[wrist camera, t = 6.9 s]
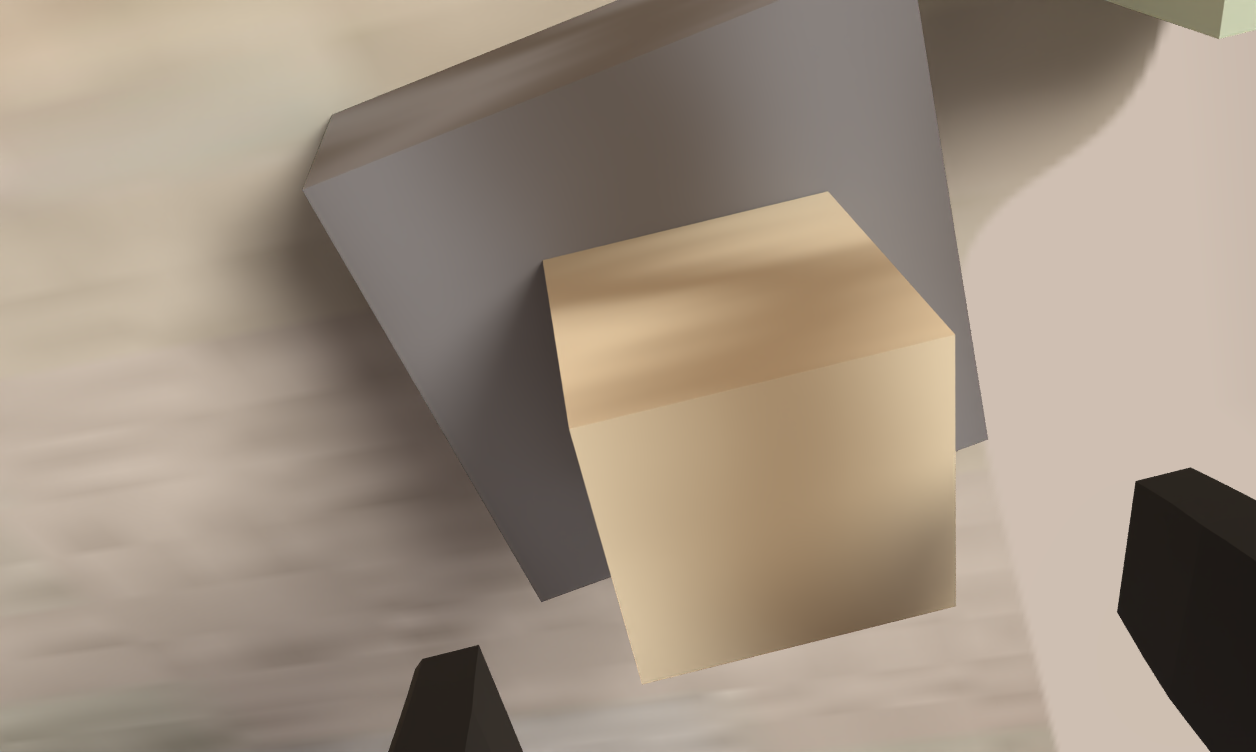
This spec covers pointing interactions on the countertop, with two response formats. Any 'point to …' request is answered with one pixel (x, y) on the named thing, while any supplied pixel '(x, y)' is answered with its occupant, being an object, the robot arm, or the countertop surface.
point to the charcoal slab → (619, 206)
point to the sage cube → (1200, 14)
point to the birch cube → (759, 432)
